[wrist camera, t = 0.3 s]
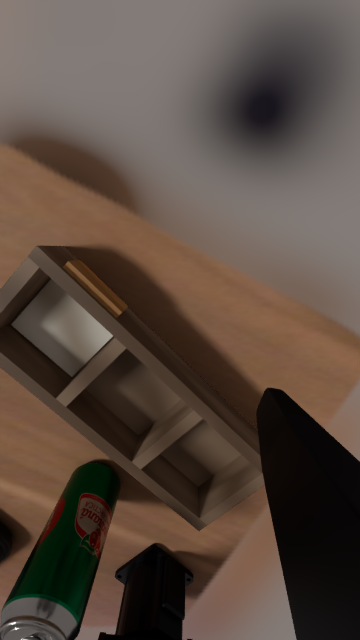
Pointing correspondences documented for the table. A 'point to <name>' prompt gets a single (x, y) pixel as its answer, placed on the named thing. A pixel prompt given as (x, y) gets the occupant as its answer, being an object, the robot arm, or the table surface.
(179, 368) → the can rack
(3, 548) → the carrying case or bag
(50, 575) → the soda can
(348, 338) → the table surface
